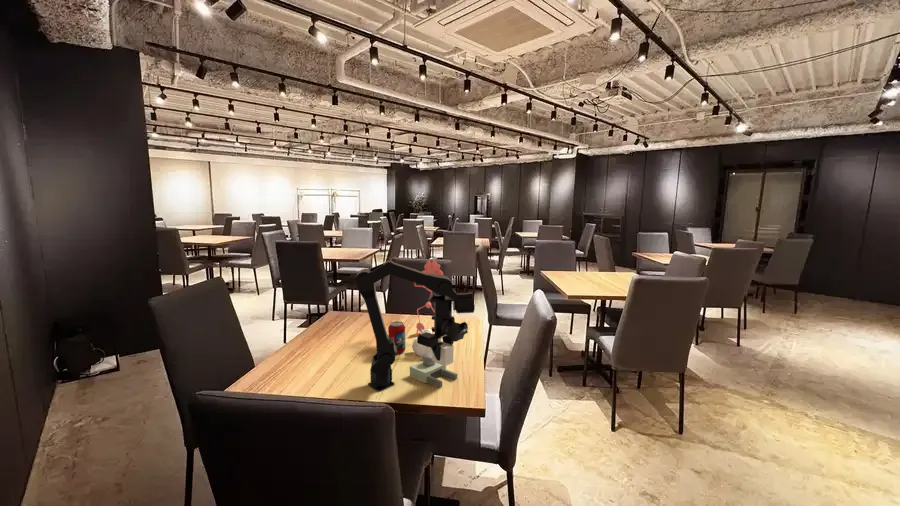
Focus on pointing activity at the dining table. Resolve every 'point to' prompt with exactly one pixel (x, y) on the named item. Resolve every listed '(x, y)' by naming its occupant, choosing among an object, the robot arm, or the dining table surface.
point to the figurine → (430, 269)
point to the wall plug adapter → (430, 371)
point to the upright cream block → (444, 355)
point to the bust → (420, 348)
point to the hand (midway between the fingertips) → (442, 358)
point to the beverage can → (397, 335)
